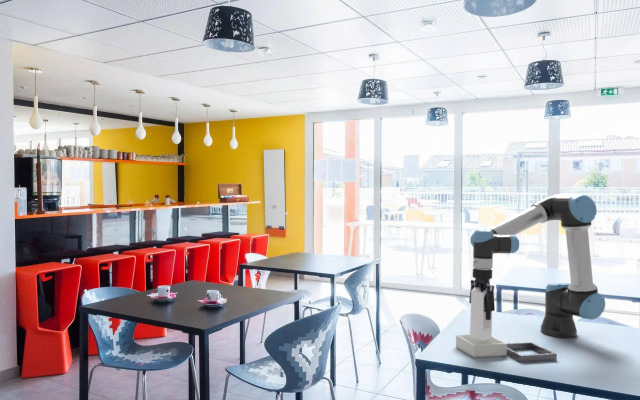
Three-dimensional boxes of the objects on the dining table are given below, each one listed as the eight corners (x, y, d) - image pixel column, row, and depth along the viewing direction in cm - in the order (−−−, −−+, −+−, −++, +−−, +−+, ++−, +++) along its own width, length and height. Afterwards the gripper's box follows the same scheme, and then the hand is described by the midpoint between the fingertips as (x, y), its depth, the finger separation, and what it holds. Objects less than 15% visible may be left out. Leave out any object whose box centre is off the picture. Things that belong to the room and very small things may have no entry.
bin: (486, 345, 212) (487, 333, 212) (506, 356, 198) (506, 343, 198) (455, 347, 209) (456, 335, 209) (473, 358, 195) (473, 345, 195)
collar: (531, 348, 209) (531, 342, 209) (556, 360, 194) (556, 353, 194) (497, 349, 206) (497, 343, 206) (520, 362, 191) (521, 355, 191)
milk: (482, 340, 199) (483, 285, 199) (469, 337, 204) (471, 282, 204) (491, 338, 203) (493, 283, 202) (478, 334, 208) (480, 281, 207)
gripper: (461, 264, 212) (459, 318, 212) (488, 272, 192) (486, 332, 192) (477, 264, 214) (476, 318, 214) (505, 272, 194) (504, 331, 194)
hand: (481, 324), depth 203 cm, fingers closed on milk, 8 cm apart
